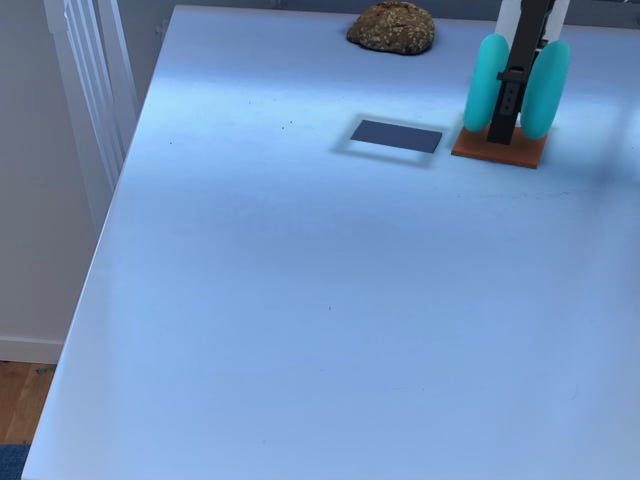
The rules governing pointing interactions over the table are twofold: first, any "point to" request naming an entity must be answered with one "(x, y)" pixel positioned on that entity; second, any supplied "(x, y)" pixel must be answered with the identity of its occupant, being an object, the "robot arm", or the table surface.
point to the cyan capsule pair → (539, 91)
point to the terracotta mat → (500, 148)
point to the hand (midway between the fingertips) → (504, 125)
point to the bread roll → (393, 28)
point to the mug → (512, 14)
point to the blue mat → (397, 136)
